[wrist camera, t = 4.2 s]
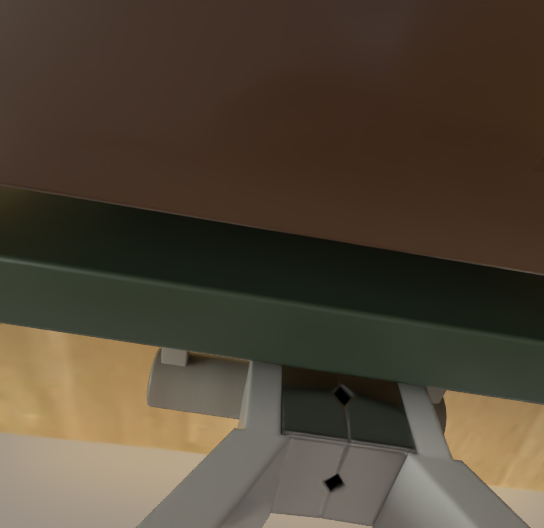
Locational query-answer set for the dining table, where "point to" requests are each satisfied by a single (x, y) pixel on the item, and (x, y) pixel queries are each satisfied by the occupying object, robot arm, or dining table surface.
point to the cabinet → (289, 116)
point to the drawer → (264, 303)
